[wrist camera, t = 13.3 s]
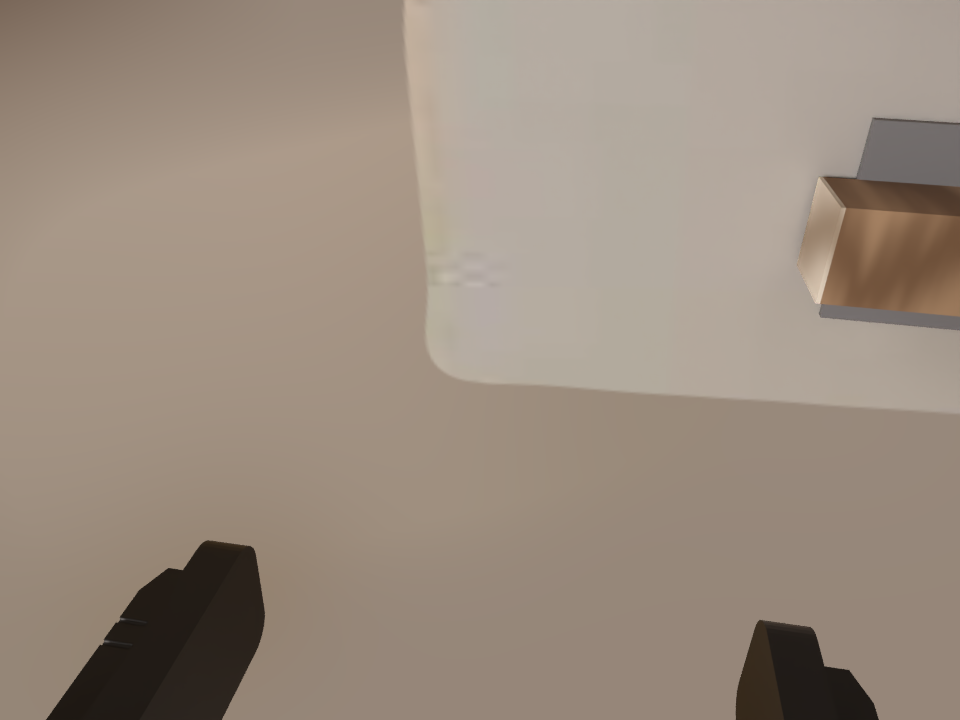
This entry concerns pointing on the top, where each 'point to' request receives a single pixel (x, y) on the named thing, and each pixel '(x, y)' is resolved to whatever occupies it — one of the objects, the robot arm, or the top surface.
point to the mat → (906, 159)
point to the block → (883, 246)
